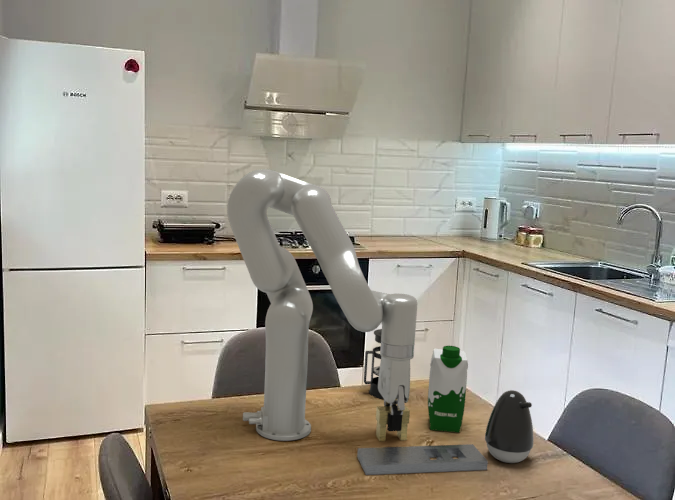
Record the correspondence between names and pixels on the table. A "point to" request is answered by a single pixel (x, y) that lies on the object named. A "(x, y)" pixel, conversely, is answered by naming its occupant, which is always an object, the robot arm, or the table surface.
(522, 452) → the pump dispenser
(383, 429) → the tan wooden block
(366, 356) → the french press
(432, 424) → the milk carton
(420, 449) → the grey flat board
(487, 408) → the table surface
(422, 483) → the table surface
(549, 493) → the table surface
